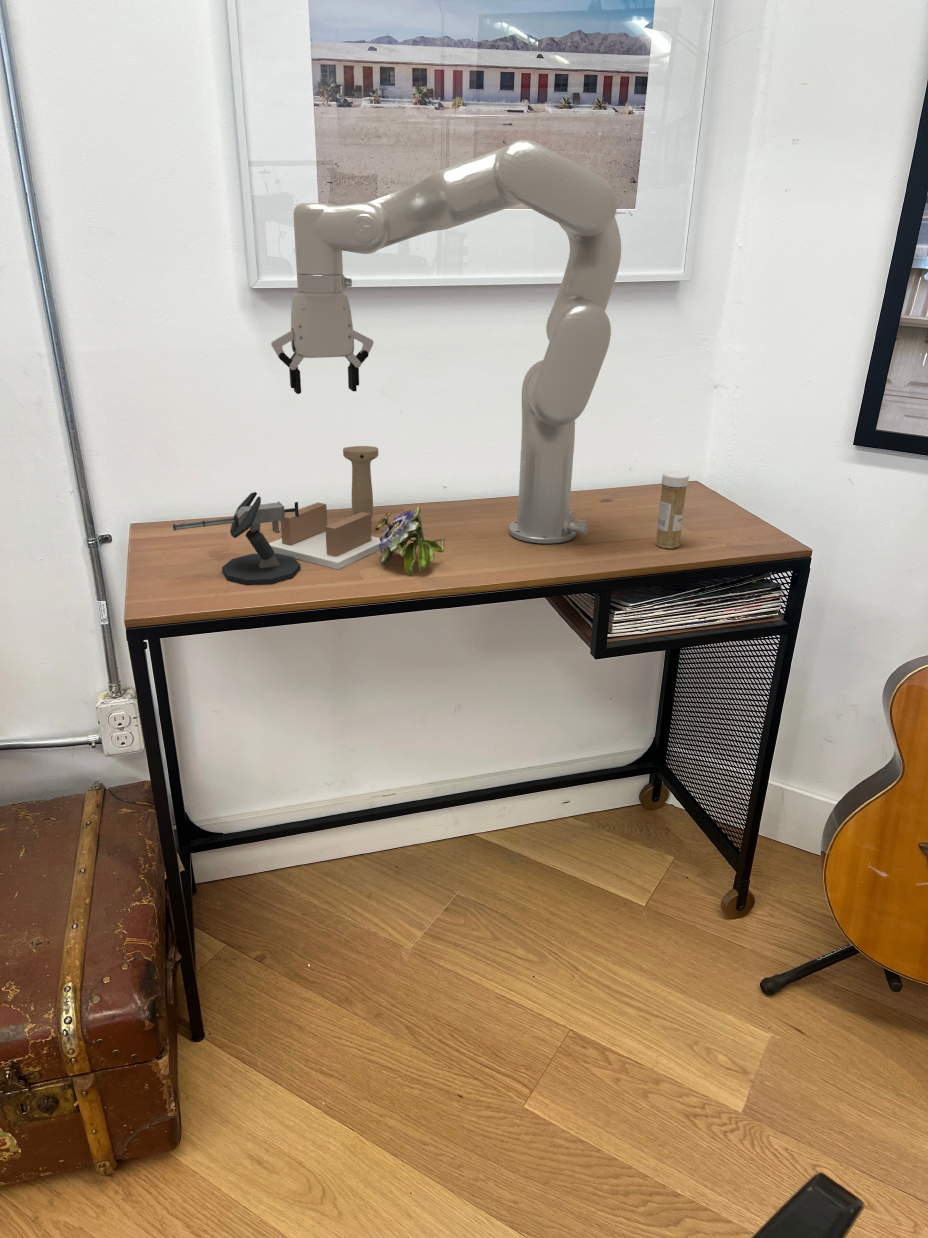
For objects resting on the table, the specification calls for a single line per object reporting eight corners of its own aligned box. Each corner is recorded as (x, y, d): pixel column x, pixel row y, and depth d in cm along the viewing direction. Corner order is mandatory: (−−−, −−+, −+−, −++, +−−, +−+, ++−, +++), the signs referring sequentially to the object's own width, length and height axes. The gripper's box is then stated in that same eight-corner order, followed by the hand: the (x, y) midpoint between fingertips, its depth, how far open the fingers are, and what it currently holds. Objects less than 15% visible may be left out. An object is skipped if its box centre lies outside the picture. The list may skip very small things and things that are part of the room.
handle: (381, 530, 164) (379, 451, 158) (346, 532, 163) (343, 452, 157) (378, 522, 168) (377, 445, 162) (345, 524, 167) (342, 446, 161)
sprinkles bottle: (682, 549, 157) (692, 476, 152) (657, 549, 157) (666, 476, 152) (676, 541, 162) (685, 470, 156) (651, 541, 161) (659, 469, 156)
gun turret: (174, 570, 144) (164, 494, 139) (292, 553, 152) (287, 481, 147) (188, 597, 134) (178, 516, 128) (314, 577, 142) (310, 501, 136)
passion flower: (387, 592, 151) (369, 527, 153) (447, 576, 153) (429, 512, 154) (388, 578, 140) (369, 508, 142) (453, 561, 141) (433, 492, 143)
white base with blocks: (387, 546, 156) (386, 512, 154) (338, 569, 145) (336, 534, 143) (318, 529, 164) (316, 497, 161) (266, 551, 153) (263, 517, 150)
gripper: (365, 284, 150) (368, 385, 157) (264, 284, 144) (271, 389, 151) (377, 287, 143) (379, 392, 151) (271, 287, 138) (278, 397, 145)
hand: (325, 391), depth 151 cm, fingers open, 9 cm apart
